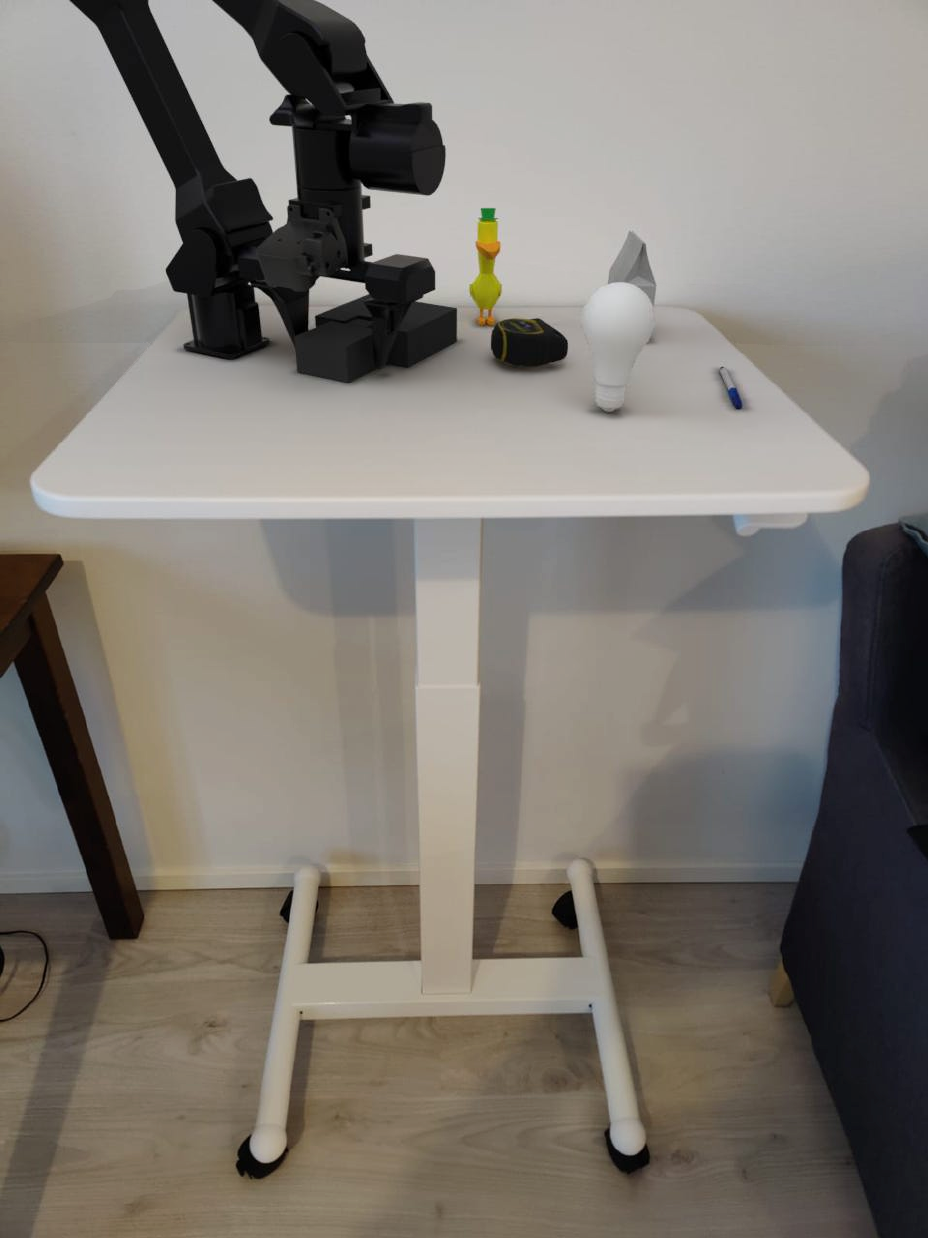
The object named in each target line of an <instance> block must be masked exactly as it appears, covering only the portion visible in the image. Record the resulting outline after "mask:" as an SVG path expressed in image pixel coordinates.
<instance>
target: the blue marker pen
mask: <svg viewBox="0 0 928 1238" xmlns="http://www.w3.org/2000/svg"><path fill="white" fill-rule="evenodd" d="M719 374H721V377H722V379H723V382H724V384H725V386H726V388H727V391H728V395H729V397H730V400H731V401H732V403H733V406H734V408H736V409H737V410H740V409H742V408H743V402H742V401H743V400H742V399H741V396H740V393H739V391H738V388H737V387H735V385H734V382H733V381H732V378H731V377H730V374H729V372H728V370H727V368H726V367H724V366H720V368H719Z"/></svg>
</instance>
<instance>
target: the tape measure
mask: <svg viewBox="0 0 928 1238" xmlns="http://www.w3.org/2000/svg"><path fill="white" fill-rule="evenodd" d="M490 350H491V351H492V352H491V353H492V355H493V357H494V358H496V359H497V360H498V361H499V362H502V363H504V364H507V365H510V366H512V367H513V368H520V367H526V368H529V367H532V368H533V367H540V366H545V365H549V364H553V363H557V362H561V361H562V360H565V358H566V357H567V356H568V350H569V341H568V339H567V338H566V337H565V335H564V334H563V333H561V332H560V331H559V330H557V329H555V328H554V327H553V326H551V325H550V324H549V323H547V322H545V320H543V319H542V318H540V317H539V318H538V317H535V318H530V319H528V318H527V319H526V318H518V317H517V318H515V317H513V318H507V319H502V320H500V321H498V322H497V323H495V324H494V326H493V329H492V330H491V335H490Z"/></svg>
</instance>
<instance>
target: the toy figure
mask: <svg viewBox="0 0 928 1238" xmlns="http://www.w3.org/2000/svg"><path fill="white" fill-rule="evenodd" d="M496 209H497V208H496V207H481V208H480V213H481V217H478V221H477V238H476V239H477V240H476V241H475V248H476V250H477V258H478V259H477V260H478V267H479V273H478V275H477V276H476V278H475V279H474V281H473V282H472V283H469V289H468V290H469V296H470V298H471V297H472V300H473V301H474V303H475V305H476V306H477V308H478V309H479V317H477V325H478V326H480V327H483V326H486V325H488V326H490V327H491V326H492V327H494V326H495V325H496V318H495V317H493V309H494V307H495V305H496V304H497V302H499V299H500V297H501V296H502V292H503V291H502V290H503V288H502V287H503V284H502V283H501V282H500V281H499V279H498V278H497V276H496V274H495V273H494V272H495V264H496V257H498V255H499V254H500V252H501V246H502V245H501V242H500V241H499V240H498V235H499V234H498V233H499V232H498V231H499V228H498V227H499V222H498V221H497V220H499V218H498V217H495V215H496ZM484 311H487V317H485V316H484Z"/></svg>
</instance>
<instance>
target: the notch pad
mask: <svg viewBox="0 0 928 1238" xmlns="http://www.w3.org/2000/svg"><path fill="white" fill-rule="evenodd" d="M369 299H372V297H371V295H370V294H369V293H368V294H366V295H363V296H361V297H358V298H356V299H353V300H351V301H349V302H346V303H343V304H341V305H337V306H336V307H333V308H331V309H329V310H326V311H323V312H321V313H319V314H316V315H314V321H315V328H316V327H318V326H320V325H323V324H325V323H328V322H330V321H332V322H338V323H344V324H346V323H349V322H351V321H353V320H356V319H360V320H366V321H372V315H371V313H370V312H369V310H368V309H367V307H366V305H365V304H364V301H367V300H369ZM457 341H458V308H457V307H454V306H453V307H452V306H446V305H441V304H435V303H434V304H433V303H430V302H429V303H428V302H422V301H415V302H413V303H412V305H411V306H410V308H409V310H408V312H407V314H406V316H405V318H404V320H403V322H402V324H401V326H400V328H399V331H398V333H397V336H396V338H395V341H394V343H393V346H392V348H391V351H390V353H389V356H388V359H387V361H386V364H388V365H393V366H398V367H403V368H409V367H412V366H414V365H415V364H417V363H419V362H421V361H422V360H425V359H426V358H429V357H430V356H432V355H434V354H436V353H438V352H440V351H441V350H443V349H445V348H447V347H449V346H451V345H453V344H455V343H457Z"/></svg>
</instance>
